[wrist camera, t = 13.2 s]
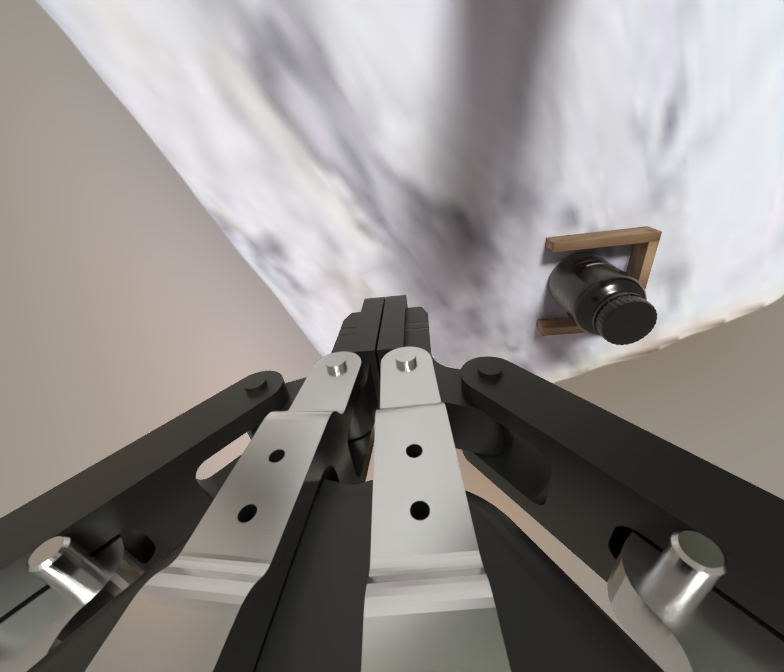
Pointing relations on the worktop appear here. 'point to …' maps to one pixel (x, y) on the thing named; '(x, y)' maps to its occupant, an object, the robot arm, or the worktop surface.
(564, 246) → the walnut frame
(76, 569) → the robot arm
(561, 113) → the worktop surface
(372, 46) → the worktop surface
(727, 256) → the worktop surface
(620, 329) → the supplement bottle
